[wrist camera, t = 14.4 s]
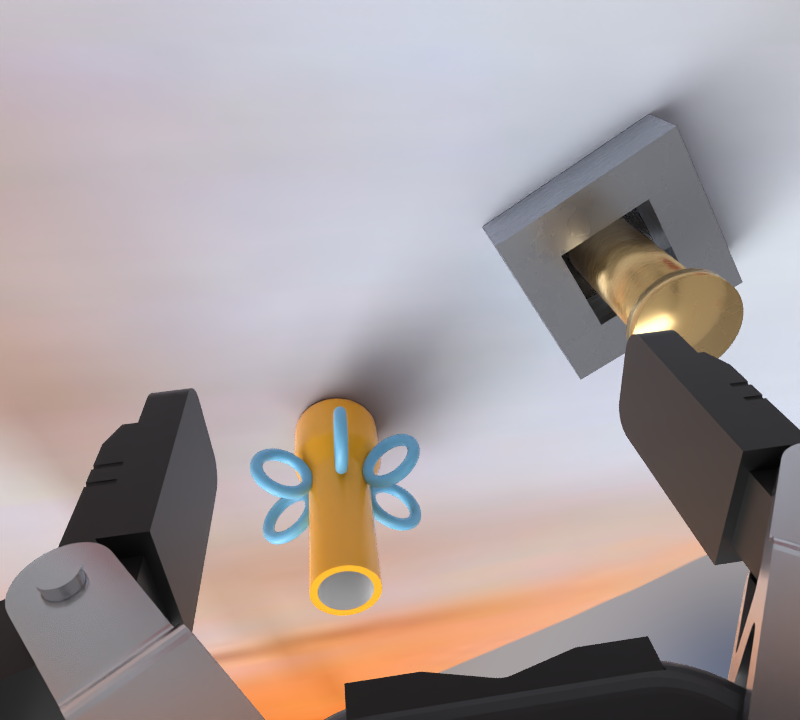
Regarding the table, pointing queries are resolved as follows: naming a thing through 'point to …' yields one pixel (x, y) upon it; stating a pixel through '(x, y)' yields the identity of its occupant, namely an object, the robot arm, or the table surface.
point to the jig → (593, 211)
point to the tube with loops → (339, 500)
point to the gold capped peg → (658, 289)
